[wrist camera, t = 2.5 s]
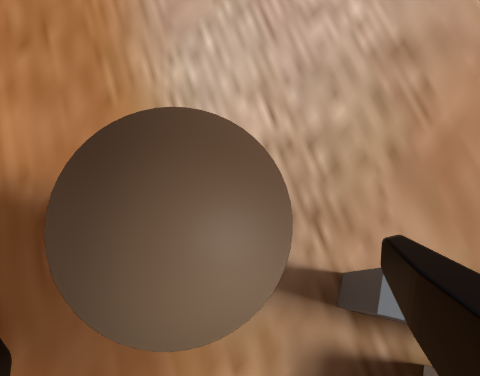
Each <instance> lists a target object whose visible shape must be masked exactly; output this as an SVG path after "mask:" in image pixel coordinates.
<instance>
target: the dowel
mask: <svg viewBox="0 0 480 376" xmlns="http://www.w3.org/2000/svg"><path fill="white" fill-rule="evenodd" d="M291 240H292V210H291V202H290V198H289V194H288V191H287V187H286V185H285V182H284V180H283V177H282V175H281V173H280V171H279V169H278V167H277V166H276V164H275V162H274V160H273V159H272V158H271V156H270V155H269V154H268V152H267V151H266V150H265V148H264V147H263V146H262V145H261V144H260V143H259V142H258V141H257V140H256V139H255V138H254V137H253V136H251V135H250V134H249V133H248V132H246V131H245V130H244V129H243V128H241V127H239V126H238V125H236V124H234V123H233V122H231V121H229V120H227V119H225V118H223V117H220V116H218V115H216V114H213V113H209V112H206V111H202V110H198V109H192V108H185V107H163V108H154V109H149V110H144V111H140V112H136V113H133V114H130V115H127V116H125V117H123V118H121V119H118V120H116V121H114V122H112V123H110V124H109V125H107V126H106V127H104V128H102V129H101V130H99V131H98V132H97V133H95V134H94V135H93V136H92V137H90V138H89V139H88V140H87V141H86V142H85V143H84V144H83V145H82V146H81V147H80V148H79V149H78V150H77V151H76V152H75V153H74V154H73V156H72V157H71V158H70V160H69V161H68V162H67V164H66V165H65V167H64V168H63V170H62V172H61V174H60V175H59V177H58V179H57V181H56V184H55V186H54V188H53V191H52V193H51V197H50V200H49V204H48V207H47V213H46V220H45V247H46V256H47V260H48V264H49V267H50V271H51V274H52V276H53V279H54V281H55V284H56V286H57V288H58V290H59V291H60V293H61V295H62V296H63V298H64V300H65V301H66V303H67V304H68V305H69V306H70V308H71V309H72V310H73V311H74V313H75V314H76V315H77V316H78V317H79V318H80V319H81V320H83V321H84V322H85V323H86V324H87V325H88V326H89V327H91V328H92V329H94V330H95V331H97V332H98V333H99V334H101V335H102V336H104V337H106V338H108V339H110V340H112V341H114V342H117V343H119V344H122V345H125V346H128V347H131V348H134V349H140V350H146V351H151V352H174V351H183V350H189V349H193V348H197V347H201V346H204V345H207V344H209V343H212V342H214V341H217V340H219V339H221V338H223V337H225V336H227V335H228V334H230V333H232V332H234V331H235V330H237V329H238V328H239V327H240V326H242V325H243V324H244V323H246V322H247V321H248V320H249V319H250V318H251V317H252V316H254V315H255V314H256V313H257V312H258V311H259V310H260V309H261V307H262V306H263V305H264V303H265V302H266V301H267V300H268V298H269V297H270V296H271V294H272V293H273V291H274V289H275V287H276V286H277V284H278V282H279V281H280V278H281V276H282V273H283V271H284V269H285V266H286V263H287V260H288V256H289V252H290V248H291Z"/></svg>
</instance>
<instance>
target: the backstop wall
mask: <svg viewBox="0 0 480 376" xmlns="http://www.w3.org/2000/svg"><path fill="white" fill-rule="evenodd" d="M337 307H339V308H343V309H347V310H352V311H356V312H360V313H364V314H368V315H372V316H377V317H381V318H385V319H389V320H393V321H397V322H401V323H406V324H407V322H406V320H405V318H404V316H403V314H402V312H401V310H400V308H399V306H398V304H397V302H396V300H395V298H394V295H393V293H392V291H391V289H390V287H389V285H388V283H387V281H386V279H385V277H384V275H383V272H382V269H381V268H375V269H368V270H361V271H354V272H347V273H343V276H342V282H341V288H340V294H339V300H338V306H337Z"/></svg>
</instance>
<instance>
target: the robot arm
mask: <svg viewBox="0 0 480 376" xmlns="http://www.w3.org/2000/svg"><path fill="white" fill-rule="evenodd" d="M381 269H382V272H383V275H384V277H385V279H386V281H387V283H388V285H389V287H390V289H391V291H392V293H393V295H394V298H395V300H396V302H397V304H398V306H399V308H400V310H401V312H402V314H403V316H404V318H405V320H406V322H407V324H408V326H409V328H410V330H411V332H412V334H413V335H414V337H415V339H416V340H417V342H418V343H419V345H420V347H421V348H422V350H423V352H424V353H425V355H426V356H427V358H428V360H429V361H430V363H431V364H432V366H433V368H434V369H435V371H436V372H437V374H438V376H480V274H479V273H477V272H475V271H473V270H471V269H469V268H467V267H465V266H463V265H461V264H459V263H457V262H455V261H453V260H451V259H449V258H447V257H445V256H443V255H441V254H439V253H437V252H435V251H433V250H431V249H429V248H427V247H425V246H423V245H421V244H419V243H417V242H415V241H413V240H411V239H409V238H407V237H405V236H402V235H395V236H390V237H386V238H384V239H383V241H382V249H381ZM11 363H12V359H11V354H10V352H9V350H8V348H7V347H6V346H5V344H4V343H3V341H2V340H1V338H0V376H10V372H11Z"/></svg>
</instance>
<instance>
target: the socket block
mask: <svg viewBox="0 0 480 376" xmlns="http://www.w3.org/2000/svg"><path fill="white" fill-rule="evenodd" d="M423 376H438V374H437V372H436V371H435V369H434V368H433V367H429V366H425V365H424V372H423Z"/></svg>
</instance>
